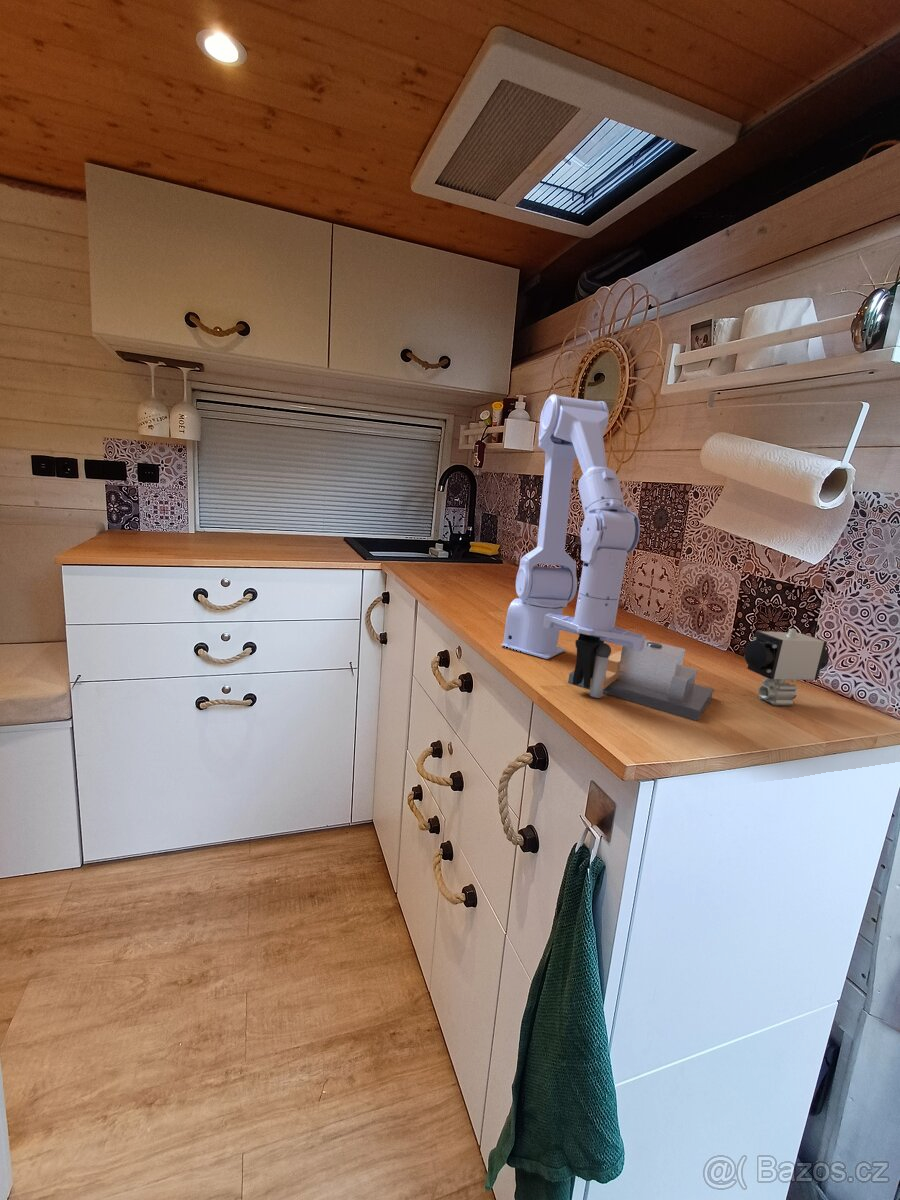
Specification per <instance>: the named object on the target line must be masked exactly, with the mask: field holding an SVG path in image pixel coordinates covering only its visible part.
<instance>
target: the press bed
mask: <svg viewBox="0 0 900 1200" xmlns="http://www.w3.org/2000/svg"><path fill="white" fill-rule="evenodd" d="M574 671H575V669H574V670H572V671H571V672H569V673H568V679H567V683H569V684H572V685H575V684H573V676H574ZM697 672H698V668H695V667H694V668H693V667H690V666H686V665H682V668H681V669H680V670H679V671H678V672H677V673H676V674H675V675H674V676H673V677H672V680H671V685H670V690H669V694H667V693H663V692H660V691H656V690H652V689H649V688H645V687H642V686H638V685H635V684H631V683H627V682H624V681H620V680H617V679H616V680H615V681H614V682H612V683H611V684H610V685H608V686H607V687H606V688H605V689H603V694H605V695H609V696H612V697H616V698H619V699H622V700H626V701H629V702H632V703H636V704H640V705H643V706H646V707H649V708H653V709H656V710H660V711H661V712H667V713H669V714H672V715H676V716H680V717H683V718H685V719H690V720H693V721H696V722H698V720H699V719H700V717H702V714H703V712H704V711H705V710H706V708H707V706H708V704H709V703H710V701H711V700H712V698H713V692H714V688H711V687H707V686H704V685H699V684H695V681H696V677H697ZM577 686H579V687H582V688H585V687H584V677H583V680H582V682H581V683H580V684H578V685H577ZM590 688H591V687H589V688H587V689H588V690H590Z"/></svg>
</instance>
